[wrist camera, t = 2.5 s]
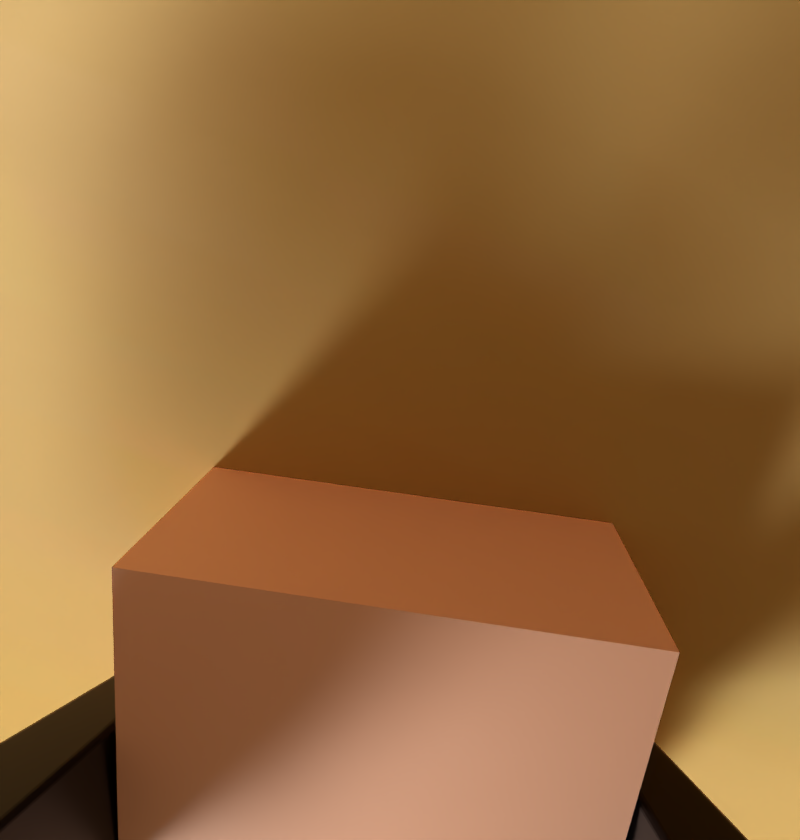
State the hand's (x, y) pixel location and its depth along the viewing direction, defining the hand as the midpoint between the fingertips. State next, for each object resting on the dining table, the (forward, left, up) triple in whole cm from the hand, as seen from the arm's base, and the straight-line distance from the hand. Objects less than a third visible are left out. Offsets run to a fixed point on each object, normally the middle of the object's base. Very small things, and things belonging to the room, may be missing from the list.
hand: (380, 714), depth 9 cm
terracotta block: (0, 0, -1) cm, 1 cm away
